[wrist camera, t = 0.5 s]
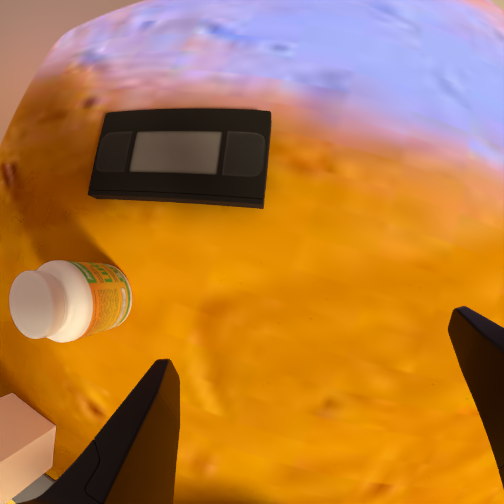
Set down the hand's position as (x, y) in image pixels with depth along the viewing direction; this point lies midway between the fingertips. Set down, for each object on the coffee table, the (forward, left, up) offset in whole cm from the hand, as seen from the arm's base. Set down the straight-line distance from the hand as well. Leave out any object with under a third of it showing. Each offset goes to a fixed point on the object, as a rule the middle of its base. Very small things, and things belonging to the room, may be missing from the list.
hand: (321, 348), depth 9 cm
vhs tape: (+14, +2, -15) cm, 21 cm away
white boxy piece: (-1, +31, -15) cm, 34 cm away
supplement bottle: (+7, +13, -15) cm, 21 cm away
